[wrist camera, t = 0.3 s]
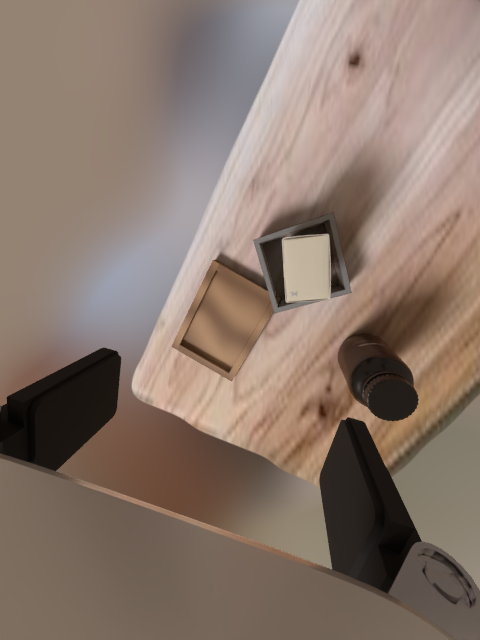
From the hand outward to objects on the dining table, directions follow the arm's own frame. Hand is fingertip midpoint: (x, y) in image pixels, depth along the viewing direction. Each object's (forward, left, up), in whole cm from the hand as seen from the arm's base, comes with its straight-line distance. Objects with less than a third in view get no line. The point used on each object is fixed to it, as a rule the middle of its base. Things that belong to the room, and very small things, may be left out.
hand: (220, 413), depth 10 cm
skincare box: (-6, -3, -28) cm, 29 cm away
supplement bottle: (-11, +12, -28) cm, 33 cm away
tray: (+7, +2, -28) cm, 29 cm away
